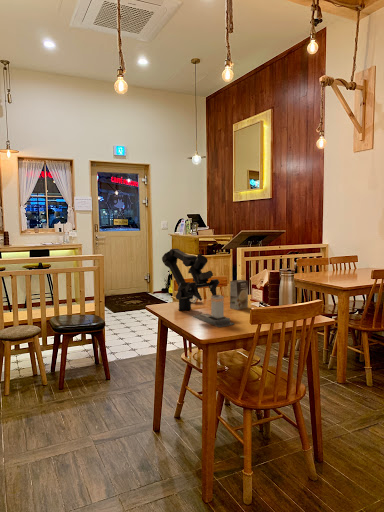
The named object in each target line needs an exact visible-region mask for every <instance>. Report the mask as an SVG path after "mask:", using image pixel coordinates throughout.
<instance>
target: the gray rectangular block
mask: <svg viewBox="0 0 384 512" xmlns="http://www.w3.org/2000/svg"><path fill="white" fill-rule="evenodd" d="M210 301H211V303H210V304H211V305H210V306H211V308H210V310H211V313H210V315H211V319H214V320H220V319H224V314H225V313H224V312H225V310H224V304H225V303H224V301H225V300H224V295H221V294H217V295H213V294H212V295H211V296H210Z"/></svg>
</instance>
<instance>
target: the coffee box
mask: <svg viewBox="0 0 384 512" xmlns="http://www.w3.org/2000/svg"><path fill="white" fill-rule="evenodd" d="M229 308H230V309H231V310H232V309H233V310H237V311H239V310H242V309H246V308H249V280H245V279H236V280H235V279H234V280H231V281H230V283H229Z"/></svg>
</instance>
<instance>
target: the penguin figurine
mask: <svg viewBox="0 0 384 512" xmlns="http://www.w3.org/2000/svg"><path fill="white" fill-rule="evenodd" d="M197 300H199V299H198V298H196V297H195V296H194V295H193V299H190V301H191V302H192V304H195V303H196V302H197Z"/></svg>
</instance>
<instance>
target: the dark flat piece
mask: <svg viewBox="0 0 384 512" xmlns="http://www.w3.org/2000/svg"><path fill="white" fill-rule="evenodd" d="M192 318H195V319H197V320H199V321H202V322H205V323H207V324H210V325H212V326H215V327H217V328H219V327H220V328H224V327H230V326H234V325H235V323H234V322H231V318H230V317H227V316H224V319H220V320H214V319H211V313H200V314H196V315H193V316H192Z"/></svg>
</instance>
